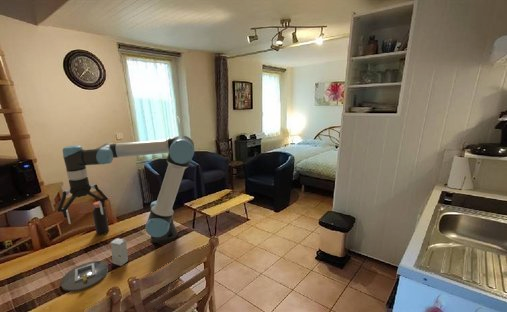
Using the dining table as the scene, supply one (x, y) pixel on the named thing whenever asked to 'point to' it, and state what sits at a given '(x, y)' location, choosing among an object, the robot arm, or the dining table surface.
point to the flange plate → (91, 281)
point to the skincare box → (119, 251)
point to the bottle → (100, 219)
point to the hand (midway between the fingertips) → (86, 218)
